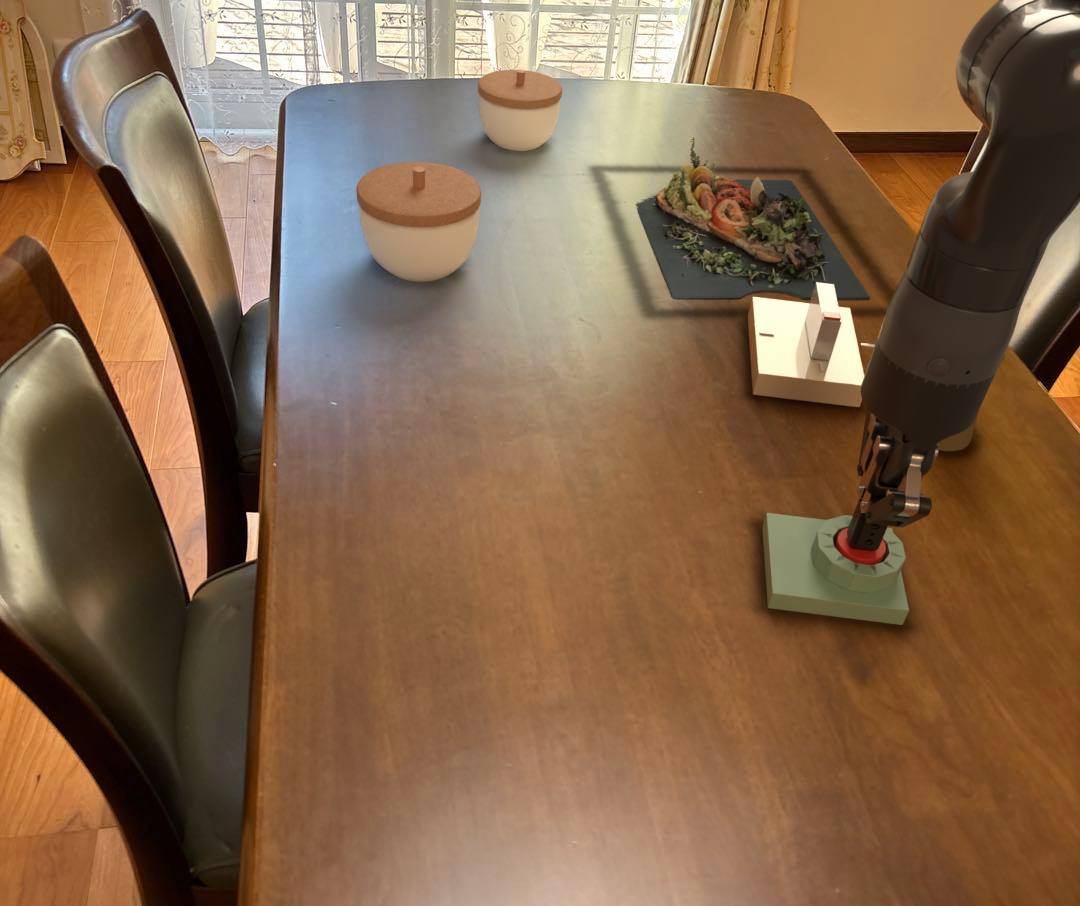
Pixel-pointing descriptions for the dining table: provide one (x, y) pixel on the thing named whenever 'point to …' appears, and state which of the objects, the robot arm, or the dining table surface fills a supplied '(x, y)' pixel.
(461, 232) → the lidded bowl
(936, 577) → the dining table surface
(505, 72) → the trinket box
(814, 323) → the white switch lever
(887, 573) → the button box
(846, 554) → the button
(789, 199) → the plated dish
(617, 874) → the dining table surface
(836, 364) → the switch base
